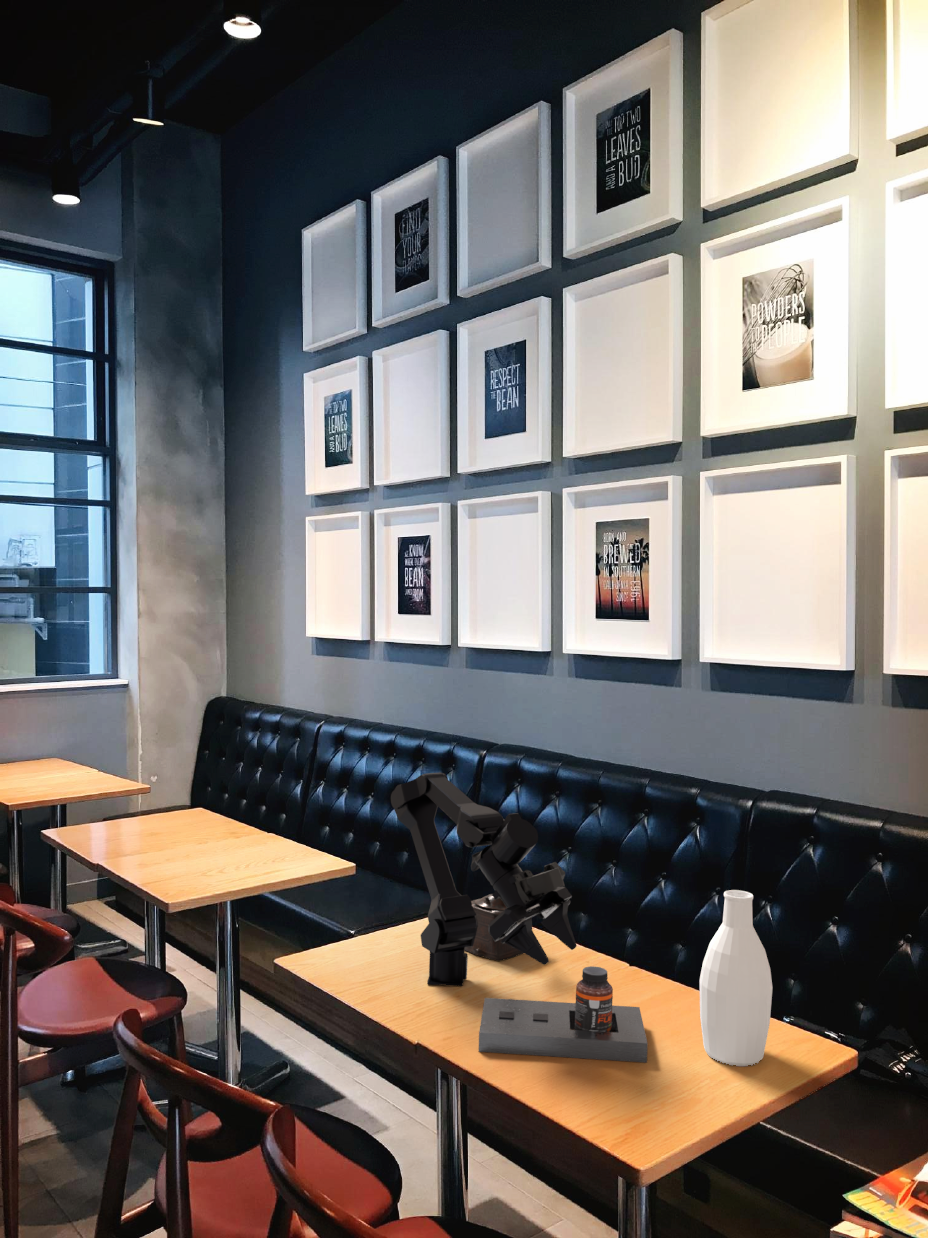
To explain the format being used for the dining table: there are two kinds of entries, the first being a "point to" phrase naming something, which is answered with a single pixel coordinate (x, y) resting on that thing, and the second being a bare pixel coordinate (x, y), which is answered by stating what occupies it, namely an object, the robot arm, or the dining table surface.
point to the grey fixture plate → (559, 1031)
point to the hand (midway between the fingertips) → (561, 955)
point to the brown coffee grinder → (483, 941)
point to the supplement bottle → (594, 1001)
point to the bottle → (735, 987)
